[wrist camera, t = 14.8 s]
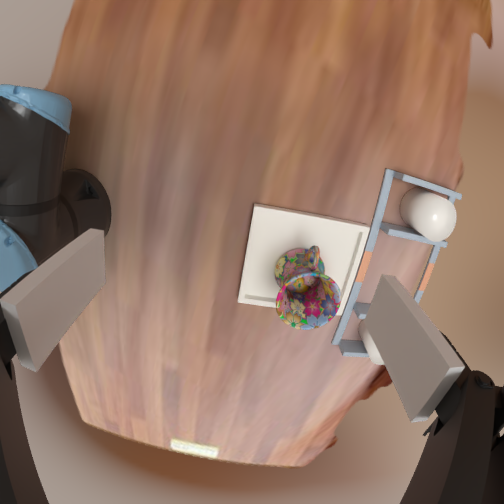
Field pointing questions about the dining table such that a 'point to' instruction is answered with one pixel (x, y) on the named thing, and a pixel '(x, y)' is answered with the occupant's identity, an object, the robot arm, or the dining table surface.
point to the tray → (298, 237)
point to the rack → (361, 309)
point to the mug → (305, 290)
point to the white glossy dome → (428, 214)
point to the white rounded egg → (369, 344)
